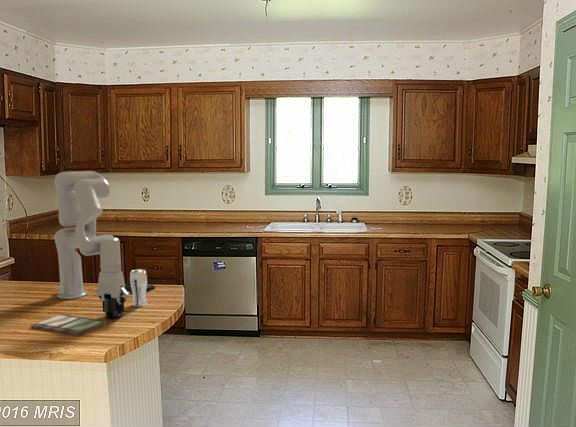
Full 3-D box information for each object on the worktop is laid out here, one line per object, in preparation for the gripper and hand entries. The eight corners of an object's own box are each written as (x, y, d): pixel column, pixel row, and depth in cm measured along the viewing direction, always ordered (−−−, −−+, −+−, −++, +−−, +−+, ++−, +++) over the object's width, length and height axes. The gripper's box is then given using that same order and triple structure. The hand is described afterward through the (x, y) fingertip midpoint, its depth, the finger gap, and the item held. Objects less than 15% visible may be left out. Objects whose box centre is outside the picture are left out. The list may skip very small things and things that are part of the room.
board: (31, 327, 185) (30, 324, 185) (61, 316, 198) (60, 313, 197) (79, 336, 176) (78, 332, 175) (107, 323, 188) (106, 320, 188)
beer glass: (149, 301, 215) (148, 268, 214) (145, 306, 209) (144, 272, 207) (134, 302, 215) (132, 269, 213) (129, 307, 208) (127, 273, 206)
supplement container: (114, 320, 192) (113, 295, 190) (101, 318, 194) (99, 293, 193) (126, 315, 198) (124, 290, 196) (113, 313, 200) (111, 288, 199)
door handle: (131, 278, 249) (106, 284, 235) (161, 282, 240) (137, 289, 226) (131, 284, 250) (106, 290, 235) (161, 289, 240) (137, 296, 226)
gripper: (87, 268, 193) (90, 312, 196) (121, 272, 187) (124, 317, 189) (101, 264, 200) (103, 306, 202) (134, 268, 194) (137, 311, 196)
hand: (113, 311), depth 196 cm, fingers closed on supplement container, 6 cm apart
